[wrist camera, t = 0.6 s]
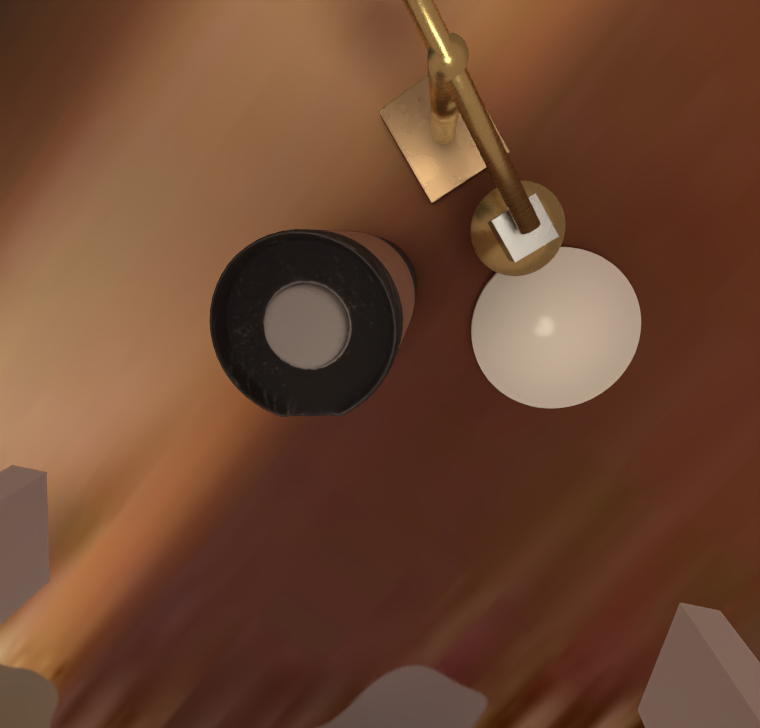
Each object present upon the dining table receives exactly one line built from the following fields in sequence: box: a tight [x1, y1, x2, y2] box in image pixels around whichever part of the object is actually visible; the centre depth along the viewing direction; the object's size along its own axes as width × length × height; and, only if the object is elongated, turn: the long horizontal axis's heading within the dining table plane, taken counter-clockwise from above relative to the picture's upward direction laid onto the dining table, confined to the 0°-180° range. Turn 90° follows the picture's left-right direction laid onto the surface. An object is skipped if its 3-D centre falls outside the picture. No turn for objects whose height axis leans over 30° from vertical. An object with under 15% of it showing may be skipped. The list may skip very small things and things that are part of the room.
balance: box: [379, 0, 565, 276], centre depth 26 cm, size 20×6×18 cm, turn 32°
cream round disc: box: [471, 247, 641, 408], centre depth 37 cm, size 12×12×1 cm
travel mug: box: [210, 229, 416, 417], centre depth 28 cm, size 8×8×20 cm
